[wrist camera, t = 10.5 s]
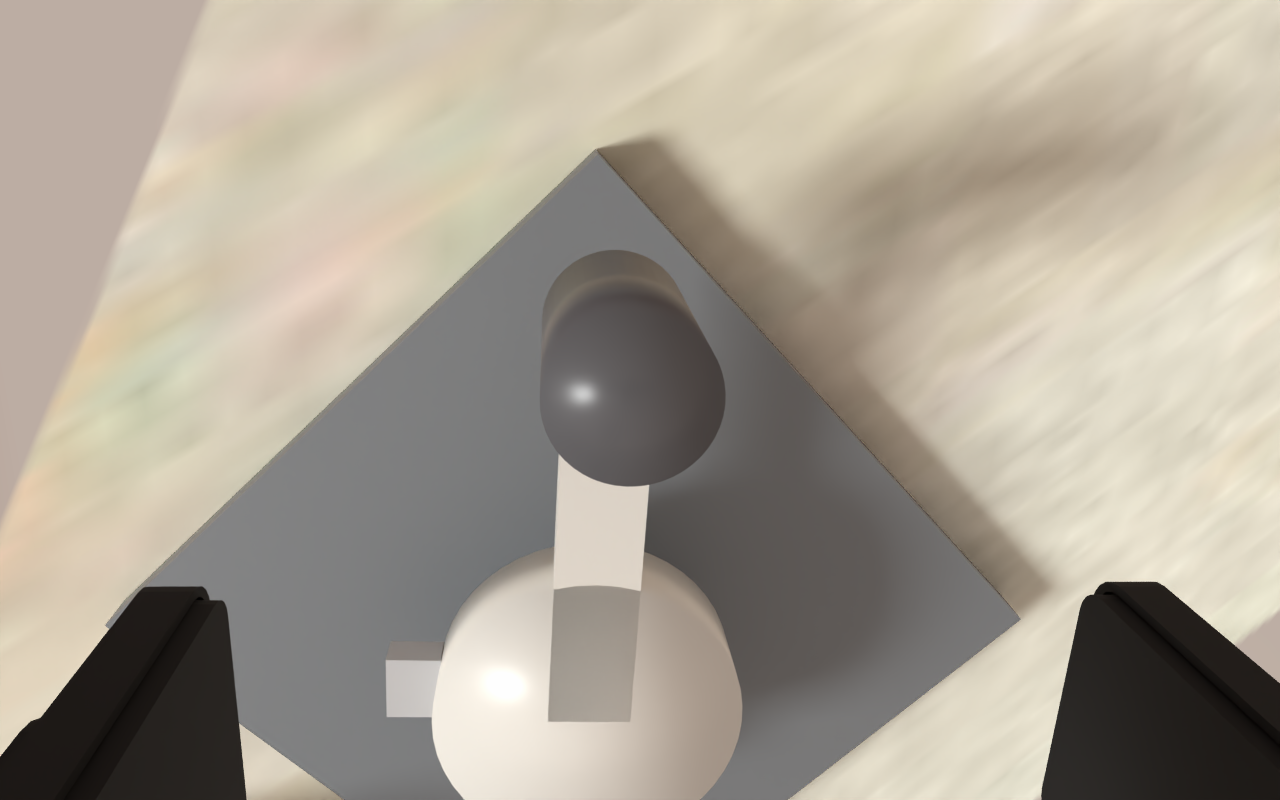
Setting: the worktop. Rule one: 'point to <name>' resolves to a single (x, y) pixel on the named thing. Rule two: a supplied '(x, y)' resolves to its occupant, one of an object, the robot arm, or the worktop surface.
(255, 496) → the post base
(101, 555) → the worktop surface
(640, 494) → the lever handle
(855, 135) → the worktop surface
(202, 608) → the robot arm
